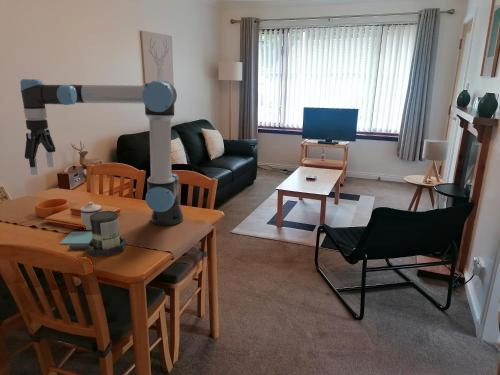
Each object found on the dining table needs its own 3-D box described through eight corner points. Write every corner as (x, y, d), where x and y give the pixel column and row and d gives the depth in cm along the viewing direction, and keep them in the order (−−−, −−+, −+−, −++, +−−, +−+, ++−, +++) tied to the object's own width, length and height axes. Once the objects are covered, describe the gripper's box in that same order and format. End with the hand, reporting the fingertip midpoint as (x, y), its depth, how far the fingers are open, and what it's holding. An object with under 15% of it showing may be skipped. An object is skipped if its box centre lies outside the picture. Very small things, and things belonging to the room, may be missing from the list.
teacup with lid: (95, 231, 159) (92, 206, 155) (77, 229, 160) (74, 204, 157) (111, 222, 170) (109, 198, 167) (94, 220, 172) (91, 196, 168)
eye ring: (128, 241, 150) (128, 235, 149) (119, 255, 137) (119, 250, 136) (77, 241, 149) (77, 235, 148) (63, 256, 136) (62, 250, 135)
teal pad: (100, 232, 158) (99, 231, 158) (90, 244, 146) (90, 243, 146) (71, 232, 157) (71, 231, 157) (59, 244, 145) (59, 243, 145)
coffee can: (89, 254, 138) (85, 220, 134) (98, 243, 148) (94, 210, 144) (116, 254, 138) (113, 219, 135) (123, 242, 148) (121, 210, 144)
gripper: (42, 116, 156) (48, 164, 161) (8, 122, 132) (17, 178, 138) (59, 116, 156) (65, 164, 162) (29, 122, 132) (37, 178, 138)
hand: (43, 170), depth 150 cm, fingers open, 13 cm apart
